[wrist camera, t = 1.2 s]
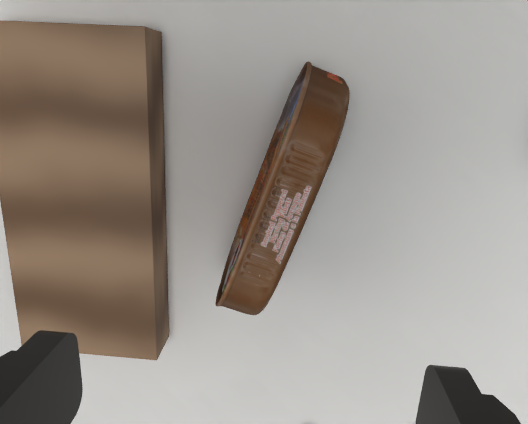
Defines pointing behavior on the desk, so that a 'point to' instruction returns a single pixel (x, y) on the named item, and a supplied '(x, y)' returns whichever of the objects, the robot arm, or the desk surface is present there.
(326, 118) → the tin
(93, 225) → the walnut riser
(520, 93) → the desk surface
